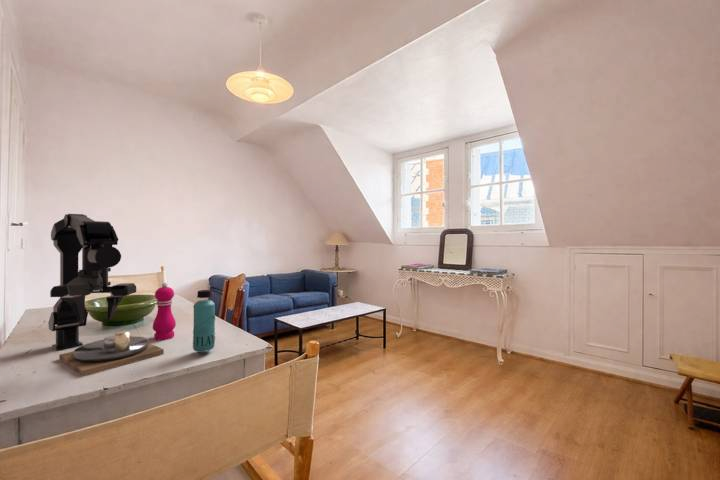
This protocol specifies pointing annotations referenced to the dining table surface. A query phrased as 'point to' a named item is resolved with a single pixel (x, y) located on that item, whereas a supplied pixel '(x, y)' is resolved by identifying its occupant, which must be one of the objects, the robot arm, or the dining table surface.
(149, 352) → the wheel mount
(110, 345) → the handwheel
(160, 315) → the pepper mill
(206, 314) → the beverage bottle
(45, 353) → the dining table surface
